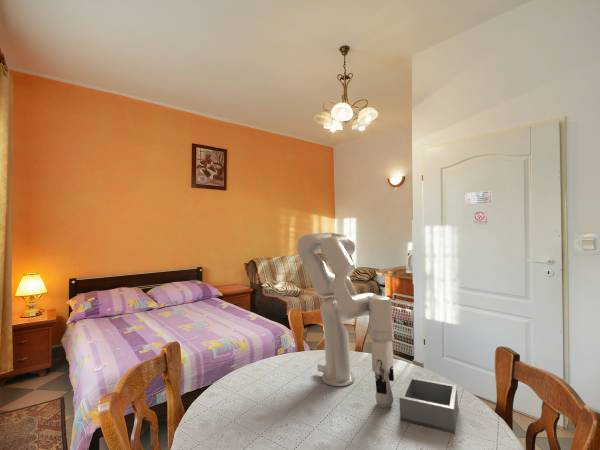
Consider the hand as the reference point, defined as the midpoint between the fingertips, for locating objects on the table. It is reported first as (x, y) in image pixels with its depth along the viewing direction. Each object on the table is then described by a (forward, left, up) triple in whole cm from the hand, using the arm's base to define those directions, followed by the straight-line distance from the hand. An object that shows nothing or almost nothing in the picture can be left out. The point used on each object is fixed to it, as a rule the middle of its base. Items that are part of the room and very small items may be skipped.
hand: (385, 386), depth 107 cm
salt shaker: (-1, 0, -7) cm, 7 cm away
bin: (+13, +1, -7) cm, 15 cm away
